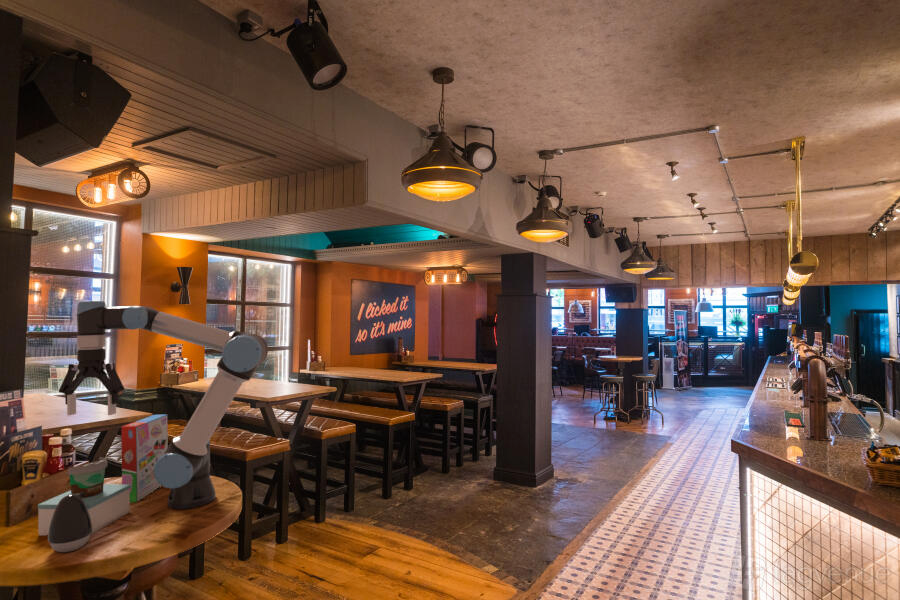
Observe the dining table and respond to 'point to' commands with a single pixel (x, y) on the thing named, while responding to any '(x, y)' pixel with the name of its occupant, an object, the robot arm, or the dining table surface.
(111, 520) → the cream box
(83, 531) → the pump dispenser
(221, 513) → the dining table surface
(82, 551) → the dining table surface
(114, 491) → the box lid
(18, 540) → the dining table surface
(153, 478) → the game box
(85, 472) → the food container
